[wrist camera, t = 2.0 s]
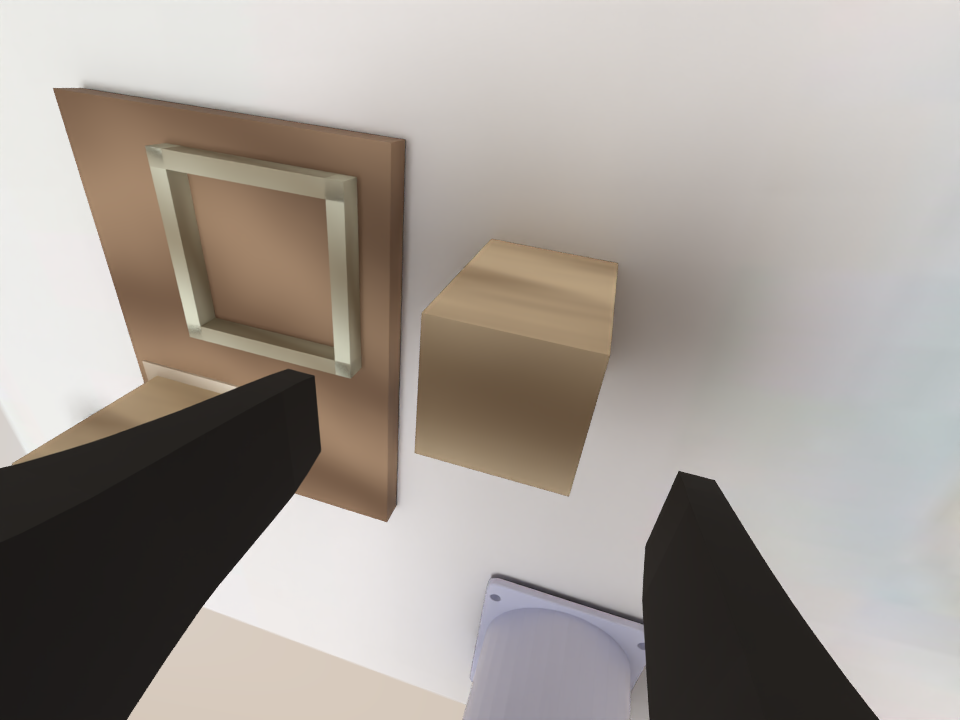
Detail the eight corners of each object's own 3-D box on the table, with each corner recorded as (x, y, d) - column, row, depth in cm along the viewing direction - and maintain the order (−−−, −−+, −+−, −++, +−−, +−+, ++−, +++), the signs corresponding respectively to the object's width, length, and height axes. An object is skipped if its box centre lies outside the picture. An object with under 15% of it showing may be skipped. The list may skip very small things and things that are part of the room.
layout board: (396, 506, 23) (313, 651, 17) (181, 440, 25) (42, 549, 19) (405, 139, 14) (248, 174, 9) (82, 87, 17) (-221, 88, 11)
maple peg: (588, 372, 17) (569, 496, 12) (478, 347, 17) (414, 453, 12) (618, 263, 15) (610, 355, 10) (491, 238, 15) (421, 312, 10)
